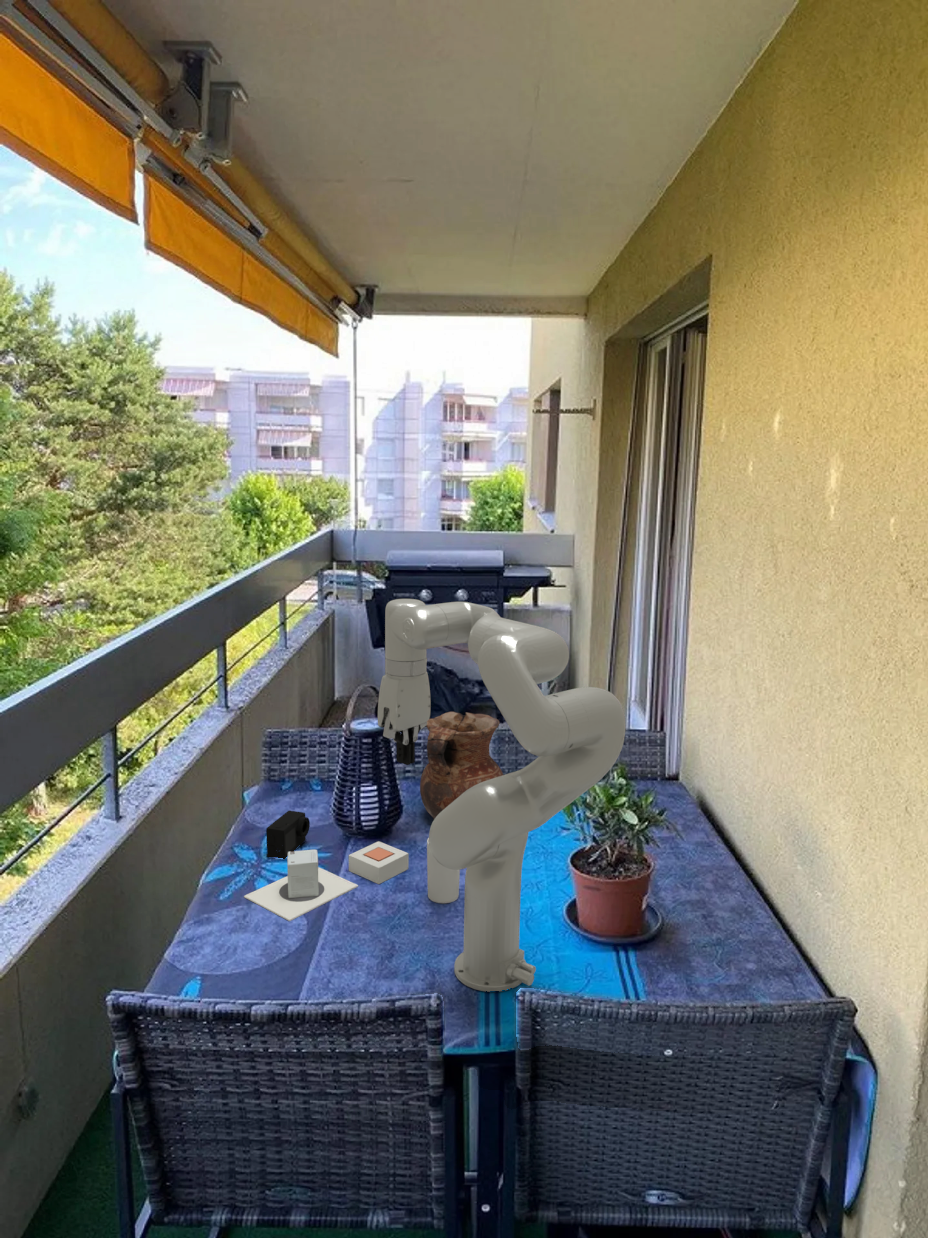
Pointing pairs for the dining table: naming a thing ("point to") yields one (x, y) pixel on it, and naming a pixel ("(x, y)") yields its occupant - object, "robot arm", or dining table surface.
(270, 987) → the dining table surface
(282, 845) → the digital camera
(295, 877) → the skincare box
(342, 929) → the dining table surface
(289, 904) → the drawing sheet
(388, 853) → the button
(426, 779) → the jug
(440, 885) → the mug
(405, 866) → the button housing
